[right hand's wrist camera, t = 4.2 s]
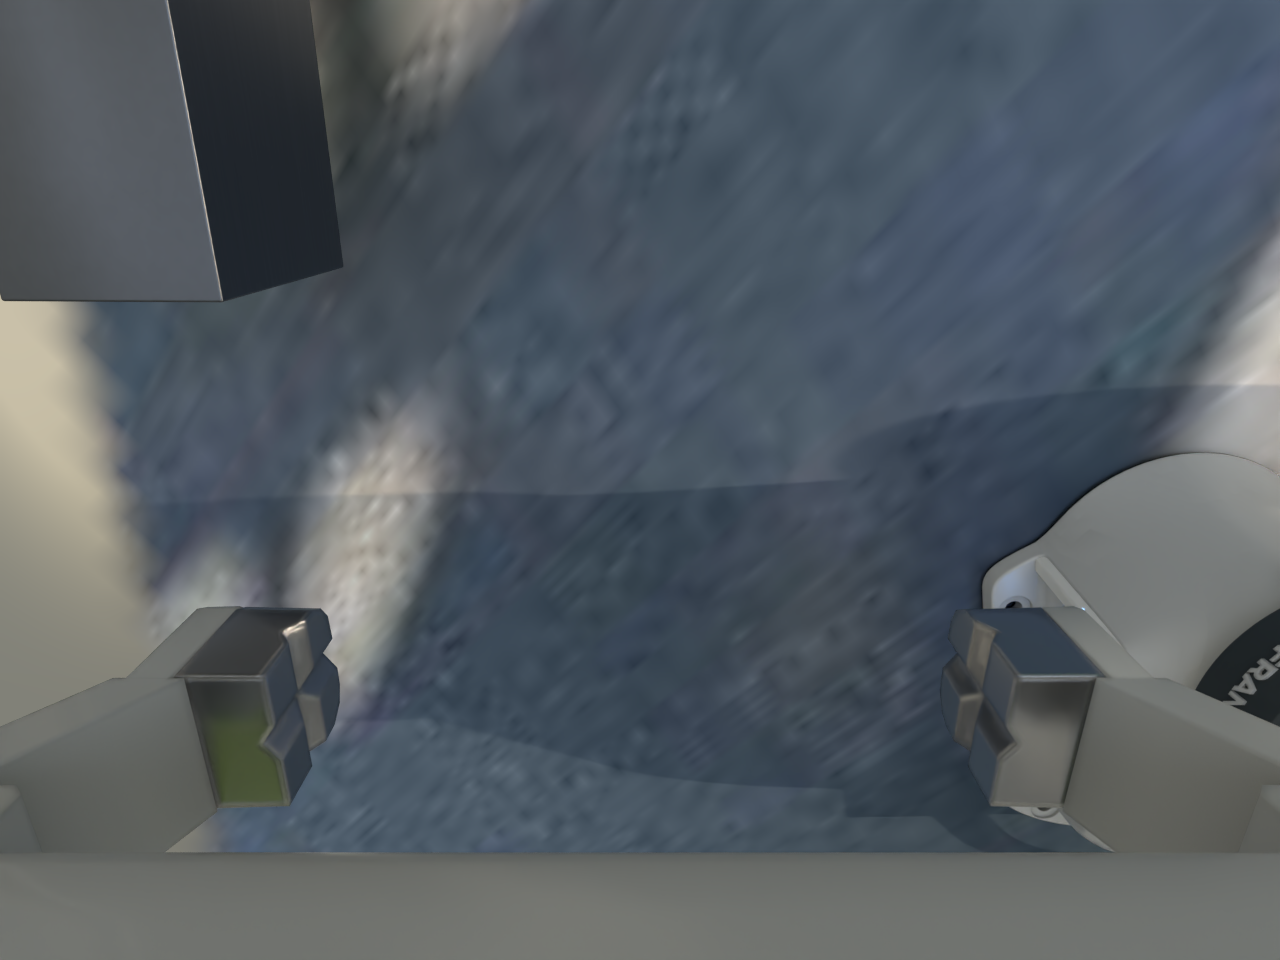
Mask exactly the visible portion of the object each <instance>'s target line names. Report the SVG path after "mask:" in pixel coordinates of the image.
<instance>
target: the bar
mask: <svg viewBox="0 0 1280 960" xmlns="http://www.w3.org/2000/svg"><path fill="white" fill-rule="evenodd" d="M342 267H343V260H342V252H341V245H340V237H339V229H338V221H337V213H336V205H335V197H334V190H333V182H332V174H331V166H330V158H329V150H328V143H327V135H326V127H325V119H324V111H323V103H322V96H321V88H320V80H319V72H318V64H317V56H316V49H315V41H314V33H313V25H312V17H311V9H310V1H309V0H0V295H1V299H2V300H3V301H98V302H224V301H228V300H231V299H234V298H238V297H241V296H245V295H248V294H252V293H255V292H259V291H262V290H266V289H269V288H273V287H276V286H280V285H283V284H287V283H290V282H294V281H297V280H300V279H304V278H307V277H311V276H314V275H318V274H321V273H325V272H328V271H332V270H335V269H339V268H342Z"/></svg>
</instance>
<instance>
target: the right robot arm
mask: <svg viewBox="0 0 1280 960" xmlns="http://www.w3.org/2000/svg"><path fill="white" fill-rule="evenodd" d="M982 595H983V609H963V610H956V612H955V614H954V616H953V618H952V620H951V623H950V629H949V634H948V640H949V641H950V643H951V644H952V646H953V647H954V649H955V650H956V652H957V654H956V655H955V656H954V657H953V658H952V659H951V660H950V661H949V662H948V663H947V664H946V665H945V666H944V667H943V670H942V678H941V686H940V697H941V708H942V714H943V717H944V720H945V723H946V727H947V729H948V730H949V732H950V734H951V736H952V738H953V740H954V741H955V742H957V743H958V744H960V745H961V746H963V747H964V748H966V749H967V750H969V751H970V757H969V762H968V767H969V769H970V771H971V772H972V774H973V776H974V778H975V780H976V781H977V783H978V785H979V787H980V788H981V790H982V792H983V794H984V796H985V797H986V799H987V801H988V803H989V804H990V806H1009V807H1011V808H1012V809H1014V810H1016V811H1018V812H1020V813H1022V814H1025V815H1028V816H1031V817H1033V818H1037V819H1040V820H1044V821H1048V822H1053V823H1058V824H1065V825H1071V826H1072V827H1073V828H1074V829H1075V830H1076V831H1077V832H1078V833H1079V834H1080V835H1082V836H1083V837H1084V838H1086V839H1087V840H1089V841H1090V842H1092V843H1093V844H1095V845H1097V846H1099V847H1102V848H1104V849H1106V850H1109V851H1112V852H1115V853H164V852H166V851H167V850H168V849H169V848H171V847H172V846H173V845H175V844H176V843H177V842H178V841H180V840H181V839H182V838H184V837H185V836H186V835H188V834H189V833H190V832H191V831H193V830H194V829H195V828H197V827H198V826H199V825H201V824H202V823H203V822H204V821H206V820H207V819H208V818H210V817H211V816H212V815H214V814H215V813H216V812H217V808H233V807H269V806H290V805H291V803H292V801H293V799H294V797H295V796H296V794H297V792H298V790H299V789H300V787H301V785H302V783H303V781H304V780H305V778H306V776H307V774H308V772H309V771H310V769H311V767H312V762H311V757H310V751H311V750H313V749H314V748H316V747H317V746H319V745H320V744H322V743H323V742H325V741H326V740H327V738H328V736H329V734H330V732H331V730H332V728H333V726H334V724H335V720H336V716H337V711H338V707H339V703H340V683H339V676H338V670H337V667H336V666H335V665H334V664H333V663H332V662H331V661H330V660H329V659H328V658H327V657H326V656H325V655H324V654H323V652H324V650H325V649H326V647H327V646H328V644H329V643H330V641H331V640H332V635H331V630H330V625H329V620H328V616H327V615H326V614H325V613H324V612H323V611H322V610H321V609H320V608H268V607H245V608H243V607H240V606H234V607H205V608H199V609H197V610H196V611H195V612H194V613H193V614H191V615H190V616H189V617H188V618H187V619H186V620H185V621H184V622H183V623H182V624H181V625H180V626H179V627H178V628H177V629H176V630H175V631H174V632H173V633H172V634H171V635H170V636H169V637H168V638H167V639H166V640H165V641H164V642H163V643H162V644H161V645H160V646H159V647H157V648H156V649H155V650H154V651H153V652H152V653H151V654H150V655H149V656H148V657H147V658H146V659H145V660H144V661H143V662H142V663H141V664H140V665H139V666H138V667H137V668H136V669H135V670H134V671H133V672H132V673H131V674H130V675H129V676H128V677H127V678H112V679H110V680H107V681H105V682H103V683H100V684H98V685H96V686H94V687H91V688H89V689H87V690H84V691H82V692H80V693H77V694H75V695H73V696H70V697H68V698H66V699H63V700H61V701H59V702H56V703H54V704H52V705H50V706H47V707H45V708H43V709H40V710H38V711H36V712H33V713H31V714H29V715H26V716H24V717H22V718H19V719H17V720H15V721H12V722H10V723H8V724H5V725H3V726H1V727H0V960H1280V476H1278V475H1277V474H1275V473H1274V472H1273V471H1271V470H1269V469H1268V468H1266V467H1264V466H1262V465H1260V464H1258V463H1255V462H1253V461H1250V460H1247V459H1244V458H1240V457H1237V456H1232V455H1226V454H1218V453H1189V454H1180V455H1173V456H1168V457H1164V458H1159V459H1156V460H1152V461H1149V462H1146V463H1143V464H1140V465H1138V466H1135V467H1133V468H1131V469H1128V470H1126V471H1124V472H1122V473H1120V474H1118V475H1116V476H1114V477H1112V478H1110V479H1109V480H1107V481H1105V482H1104V483H1102V484H1101V485H1099V486H1097V487H1096V488H1094V489H1093V490H1092V491H1090V492H1089V493H1088V494H1086V495H1085V496H1084V497H1083V498H1081V499H1080V500H1079V501H1078V502H1077V503H1075V504H1074V505H1073V506H1072V507H1071V508H1070V509H1069V510H1068V511H1067V512H1066V513H1065V514H1064V515H1063V516H1062V517H1061V518H1060V519H1059V521H1058V522H1057V523H1056V524H1055V525H1054V526H1053V527H1052V528H1051V529H1050V530H1049V531H1048V532H1047V533H1046V534H1045V535H1044V536H1042V537H1041V538H1040V539H1039V540H1038V541H1036V542H1035V543H1033V544H1031V545H1029V546H1027V547H1025V548H1023V549H1021V550H1019V551H1017V552H1015V553H1013V554H1011V555H1010V556H1008V557H1006V558H1004V559H1003V560H1001V561H1000V562H998V563H997V564H995V565H994V566H993V567H992V568H991V569H990V570H989V571H988V572H987V573H986V575H985V577H984V580H983V584H982ZM1013 601H1016V603H1015V605H1014V606H1013V607H1011V608H1006V606H1007V604H1009V603H1010V602H1013Z"/></svg>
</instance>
